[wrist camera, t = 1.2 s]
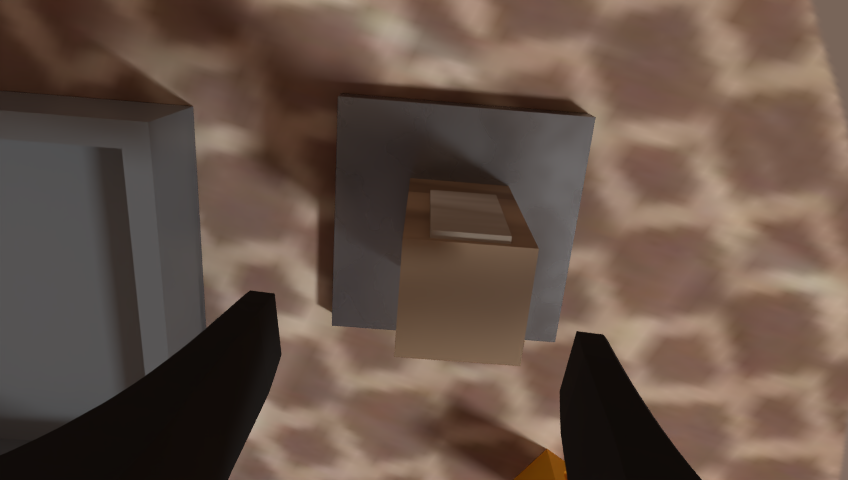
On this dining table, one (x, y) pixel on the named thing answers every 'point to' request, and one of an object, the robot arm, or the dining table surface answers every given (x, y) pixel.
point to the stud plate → (459, 162)
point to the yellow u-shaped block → (545, 468)
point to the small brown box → (464, 274)
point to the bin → (92, 253)
